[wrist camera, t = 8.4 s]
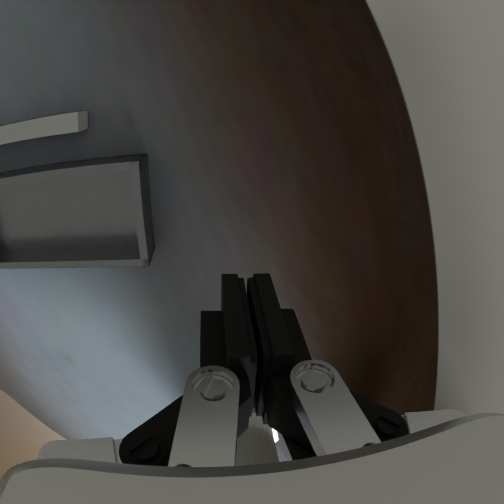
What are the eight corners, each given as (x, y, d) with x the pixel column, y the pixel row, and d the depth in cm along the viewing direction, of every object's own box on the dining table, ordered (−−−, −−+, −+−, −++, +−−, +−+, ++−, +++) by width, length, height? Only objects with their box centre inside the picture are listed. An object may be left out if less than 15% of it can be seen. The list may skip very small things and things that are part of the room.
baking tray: (154, 248, 26) (149, 266, 23) (-7, 253, 24) (-22, 268, 21) (147, 153, 22) (138, 161, 20) (-24, 177, 20) (-43, 187, 17)
